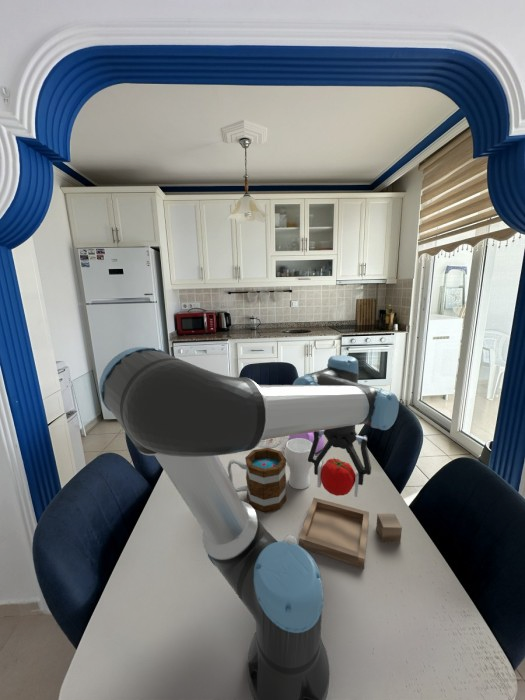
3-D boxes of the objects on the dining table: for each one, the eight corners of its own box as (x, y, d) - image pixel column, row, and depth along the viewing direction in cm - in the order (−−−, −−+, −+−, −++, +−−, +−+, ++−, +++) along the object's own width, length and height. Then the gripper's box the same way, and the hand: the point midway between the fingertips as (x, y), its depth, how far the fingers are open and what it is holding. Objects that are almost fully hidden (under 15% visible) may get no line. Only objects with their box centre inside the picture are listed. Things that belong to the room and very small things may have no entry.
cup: (313, 493, 103) (314, 454, 99) (282, 490, 105) (282, 451, 101) (314, 474, 113) (315, 438, 110) (286, 471, 115) (286, 436, 112)
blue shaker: (295, 576, 74) (295, 546, 72) (280, 570, 75) (279, 541, 74) (299, 562, 78) (300, 534, 76) (285, 557, 79) (285, 529, 77)
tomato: (330, 505, 77) (331, 476, 76) (313, 480, 87) (314, 455, 85) (361, 498, 80) (363, 470, 78) (341, 475, 90) (343, 449, 88)
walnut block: (400, 542, 83) (401, 527, 82) (382, 542, 83) (383, 527, 82) (393, 528, 88) (394, 513, 87) (376, 528, 88) (377, 513, 87)
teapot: (331, 459, 123) (332, 432, 120) (293, 461, 121) (294, 434, 119) (316, 433, 144) (317, 409, 142) (284, 435, 143) (284, 411, 140)
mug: (287, 486, 107) (287, 448, 103) (285, 514, 94) (285, 472, 90) (233, 483, 109) (231, 445, 106) (224, 510, 96) (222, 468, 93)
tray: (363, 568, 76) (364, 559, 75) (299, 547, 82) (299, 538, 81) (368, 520, 91) (369, 512, 90) (313, 505, 97) (313, 497, 97)
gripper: (386, 414, 78) (380, 490, 82) (303, 403, 86) (302, 472, 91) (385, 427, 71) (379, 508, 76) (296, 413, 79) (295, 487, 84)
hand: (337, 488), depth 83 cm, fingers closed on tomato, 9 cm apart
